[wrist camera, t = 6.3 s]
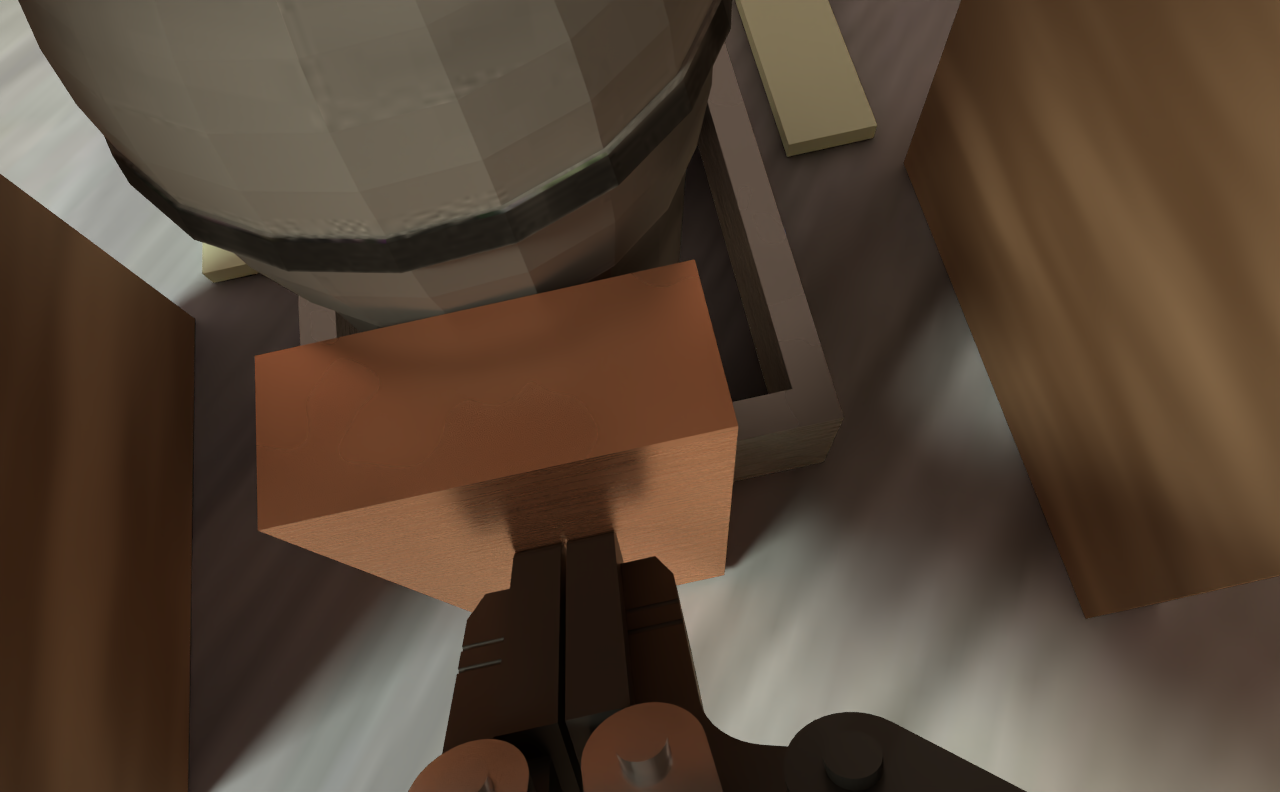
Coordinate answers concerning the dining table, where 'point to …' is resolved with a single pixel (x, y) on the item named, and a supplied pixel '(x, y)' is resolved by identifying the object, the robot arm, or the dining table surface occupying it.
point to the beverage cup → (402, 135)
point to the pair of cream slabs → (792, 78)
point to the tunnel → (977, 267)
